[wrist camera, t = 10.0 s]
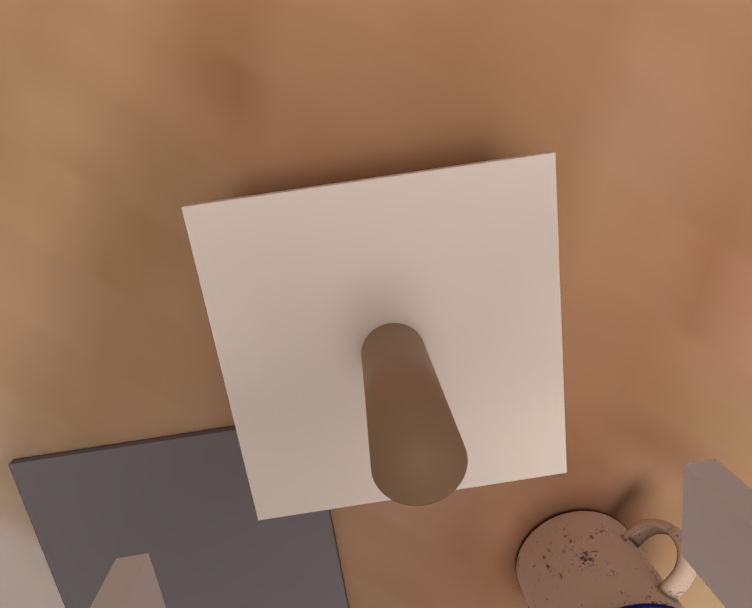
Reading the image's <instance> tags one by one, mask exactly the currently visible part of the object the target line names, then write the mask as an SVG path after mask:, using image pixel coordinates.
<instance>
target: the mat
mask: <svg viewBox="0 0 752 608" xmlns="http://www.w3.org/2000/svg"><path fill="white" fill-rule="evenodd" d="M8 465H9V468H10V470H11V473H12V475H13V478H14V480H15V483H16V485H17V488H18V490H19V493H20V495H21V498H22V500H23V503H24V505H25V508H26V510H27V513H28V515H29V518H30V520H31V523H32V525H33V528H34V530H35V533H36V535H37V538H38V540H39V543H40V545H41V548H42V550H43V553H44V555H45V558H46V560H47V563H48V565H49V568H50V570H51V573H52V575H53V578H54V580H55V583H56V585H57V588H58V590H59V593H60V595H61V598H62V600H63V603H64V605H65V608H90V607H91V605H92V603H93V601H94V599H95V598H96V596H97V594H98V592H99V590H100V588H101V586H102V584H103V582H104V581H105V579H106V577H107V575H108V573H109V571H110V569H111V567H112V565H113V564H114V562H115V560H116V558H122V557H128V556H134V555H140V554H146V553H149V556H150V559H151V563H152V566H153V569H154V572H155V575H156V578H157V581H158V584H159V587H160V590H161V593H162V597H163V600H164V603H165V606H166V608H349V605H348V600H347V595H346V590H345V585H344V580H343V574H342V569H341V564H340V559H339V554H338V549H337V544H336V539H335V534H334V529H333V523H332V518H331V513H330V509H329V510H323V511H316V512H310V513H303V514H297V515H290V516H284V517H278V518H271V519H265V520H258V517H257V513H256V509H255V505H254V501H253V497H252V493H251V489H250V484H249V480H248V476H247V472H246V468H245V464H244V460H243V456H242V452H241V448H240V444H239V440H238V436H237V432H236V427H235V426H232V427H225V428H219V429H212V430H206V431H199V432H193V433H186V434H180V435H173V436H167V437H160V438H153V439H147V440H140V441H134V442H127V443H121V444H114V445H108V446H101V447H94V448H88V449H81V450H75V451H68V452H62V453H55V454H49V455H42V456H36V457H29V458H22V459H16V460H12V461H11V462H10V463H9V464H8Z"/></svg>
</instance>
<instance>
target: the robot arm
mask: <svg viewBox="0 0 752 608" xmlns="http://www.w3.org/2000/svg"><path fill="white" fill-rule="evenodd" d="M681 555H682V556H683V558H684V559H685V560H686V561H687V562H688V563H689V565H690V566H691V567H692V568H693V569H694V571H695V572H696V573H697V574H698V575H699V576H700V578H701V579H702V580H703V581H704V582H705V584H706V585H707V586H708V587H709V588H710V589H711V591H712V592H713V593H714V594H715V595H716V597H717V598H718V599H719V600H720V601H721V602H722V604H723V605H724V606H725V607H726V608H752V489H751V488H750V487H749V486H747V485H746V484H745V483H744V482H742V481H741V480H740V479H739V478H738V477H736V476H735V475H734V474H733V473H732V472H730V471H729V470H728V469H727V468H725V467H724V466H723V465H722V464H721V463H719V462H718V461H717V460H716V459H709V460H703V461H697V462H691V463H685V464H684V487H683V515H682V543H681ZM90 608H166V606H165V603H164V600H163V597H162V593H161V590H160V587H159V584H158V581H157V578H156V575H155V572H154V569H153V566H152V563H151V559H150V556H149V553H146V554H140V555H134V556H128V557H122V558H116V560H115V562H114V564H113V565H112V567H111V569H110V571H109V573H108V575H107V577H106V579H105V581H104V582H103V584H102V586H101V588H100V590H99V592H98V594H97V596H96V598H95V599H94V601H93V603H92V605H91V607H90Z"/></svg>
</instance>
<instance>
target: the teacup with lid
mask: <svg viewBox="0 0 752 608" xmlns="http://www.w3.org/2000/svg"><path fill="white" fill-rule="evenodd" d="M656 534H667V535H669V536H670V537H671V538H672V540H673V541H674V543H675V545H676V548H677V560H676V564H675V567H674V569H673V570H672V572H671V573H670V574H669V576H668V577H667V578H666V579H665V580H663V579H662V577H661V576H660V575H659V573H658V572H657V570H656V569H655V568H654V566H653V565H652V564H651V562H650V561H649V559H648V558H647V557H646V555H645V554H644V553H643V551H642V550H641V548H640V546H641V545H642V544H643V543H644V542H645V541H646V540H647V539H648V538H650V537H651V536H653V535H656ZM681 543H682V530H681V529H679V528H678V527H676V526H674V525H673V524H671V523H669V522H666V521H663V520H660V519H645V520H642V521H640V522H638V523H636V524H635V525H633V526H632V527H631V528H630V529H629V530H628V531H627V530H626V528H625V527H624V526H623V525H622V524H621V523H619V522H618V521H617V520H615V519H613V518H612V517H609V516H607V515H605V514H602V513H598V512H592V511H575V512H569V513H565V514H561V515H558V516H556V517H554V518H551V519H549V520H548V521H546V522H544V523H543V524H541V525H540V526H539V527H537V528H536V529H535V530H534V531H533V532H532V533H531V534H530V535H529V536H528V538H527V539H526V540H525V542H524V544H523V545H522V547H521V549H520V552H519V554H518V558H517V565H516V572H517V578H518V582H519V584H520V587H521V589H522V592H523V594H524V597H525V599H526V602H527V604H528V607H529V608H684V607H683V606H682V605H681V603H680V602H679V601H678V599H679V598H680V597H681V596H682V595H683V594H684V592H685V591H686V590H687V589H688V588H689V587H690V585H691V584H692V582H693V581H694V579H695V576H696V574H697V573H696V572H695V571H694V569H693V568H692V567H691V566H690V565H689V563H688V562H687V561H686V560H685V559H684V558H683V556H682V555H681Z"/></svg>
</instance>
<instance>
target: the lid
mask: <svg viewBox="0 0 752 608" xmlns="http://www.w3.org/2000/svg"><path fill="white" fill-rule="evenodd" d="M181 208H182V212H183V216H184V220H185V224H186V228H187V232H188V236H189V240H190V244H191V248H192V252H193V256H194V261H195V265H196V269H197V273H198V277H199V281H200V285H201V289H202V293H203V297H204V301H205V305H206V309H207V313H208V318H209V322H210V326H211V330H212V334H213V338H214V342H215V346H216V350H217V354H218V358H219V362H220V366H221V370H222V375H223V379H224V383H225V387H226V391H227V395H228V399H229V403H230V407H231V411H232V415H233V419H234V423H235V427H236V432H237V436H238V440H239V444H240V448H241V452H242V456H243V460H244V464H245V468H246V472H247V476H248V480H249V484H250V489H251V493H252V497H253V501H254V505H255V509H256V513H257V517H258V520H265V519H271V518H278V517H284V516H290V515H297V514H303V513H310V512H316V511H323V510H329V509H336V508H342V507H348V506H355V505H361V504H368V503H374V502H381V501H387V500H393V501H395V502H398V503H400V504H404V505H410V506H422V505H428V504H432V503H435V502H438V501H440V500H442V499H444V498H446V497H447V496H449V495H450V494H451V493H453V492H454V491H455V490H458V489H464V488H471V487H477V486H484V485H490V484H497V483H503V482H509V481H516V480H522V479H529V478H535V477H542V476H548V475H555V474H561V473H567V464H566V437H565V409H564V382H563V354H562V326H561V299H560V271H559V243H558V216H557V188H556V161H555V153H553V152H544V153H537V154H530V155H524V156H517V157H510V158H503V159H496V160H489V161H483V162H476V163H469V164H462V165H455V166H448V167H441V168H435V169H428V170H421V171H414V172H407V173H400V174H394V175H387V176H380V177H373V178H366V179H359V180H353V181H346V182H339V183H332V184H325V185H318V186H311V187H305V188H298V189H291V190H284V191H277V192H270V193H264V194H257V195H250V196H243V197H236V198H229V199H223V200H216V201H209V202H202V203H195V204H188V205H186V206H183V207H181Z"/></svg>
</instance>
